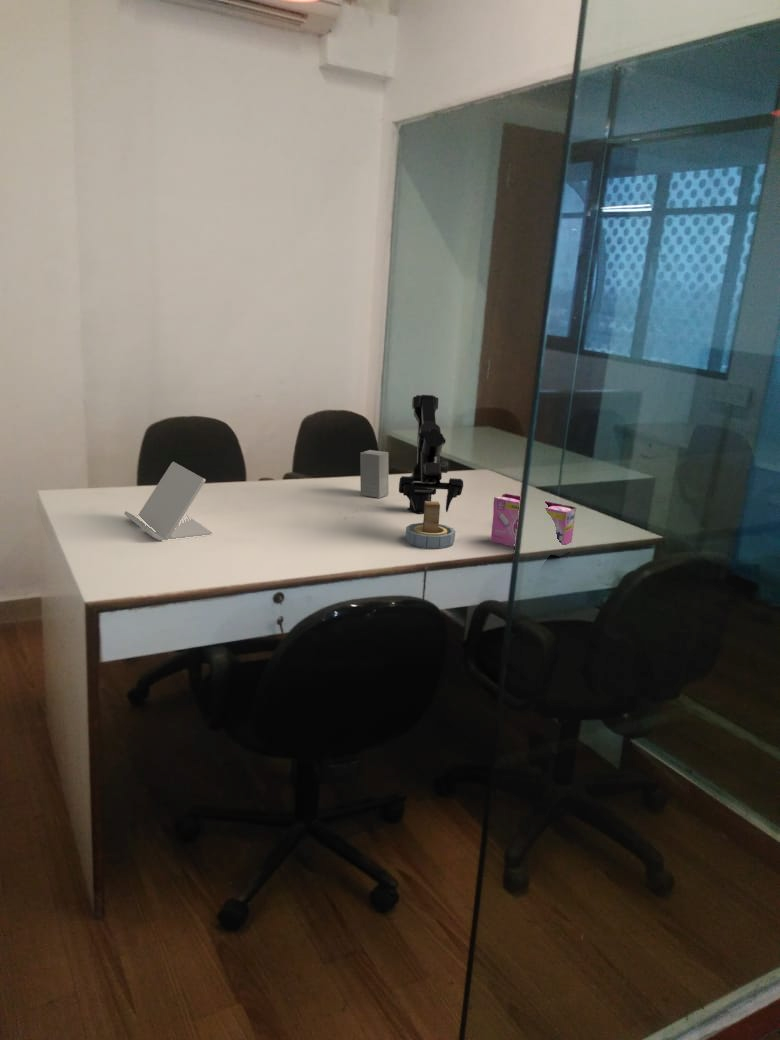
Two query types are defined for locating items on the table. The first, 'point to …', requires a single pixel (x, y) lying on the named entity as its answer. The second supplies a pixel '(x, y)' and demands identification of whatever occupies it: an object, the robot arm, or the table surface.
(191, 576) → the table surface
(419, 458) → the robot arm
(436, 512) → the brown wooden block
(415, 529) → the grey round dish
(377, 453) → the skincare box
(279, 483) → the table surface
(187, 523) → the tablet stand
